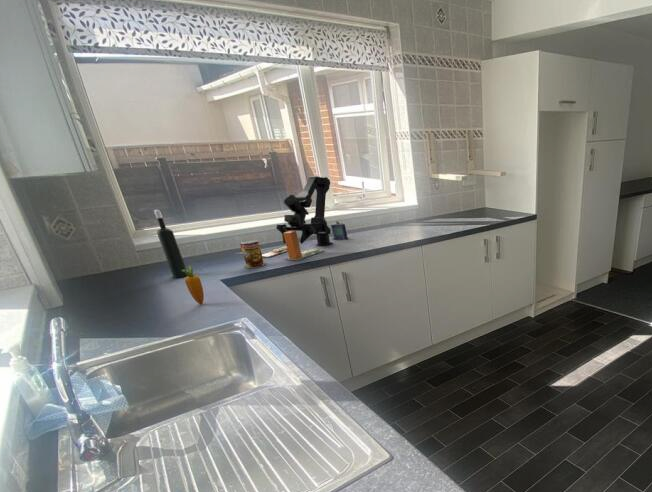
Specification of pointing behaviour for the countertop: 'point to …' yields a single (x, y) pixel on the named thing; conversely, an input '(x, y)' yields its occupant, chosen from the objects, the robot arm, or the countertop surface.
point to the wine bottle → (170, 248)
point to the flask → (338, 231)
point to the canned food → (252, 253)
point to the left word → (275, 252)
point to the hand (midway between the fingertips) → (292, 243)
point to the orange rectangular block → (292, 244)
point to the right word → (306, 254)
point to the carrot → (194, 286)
